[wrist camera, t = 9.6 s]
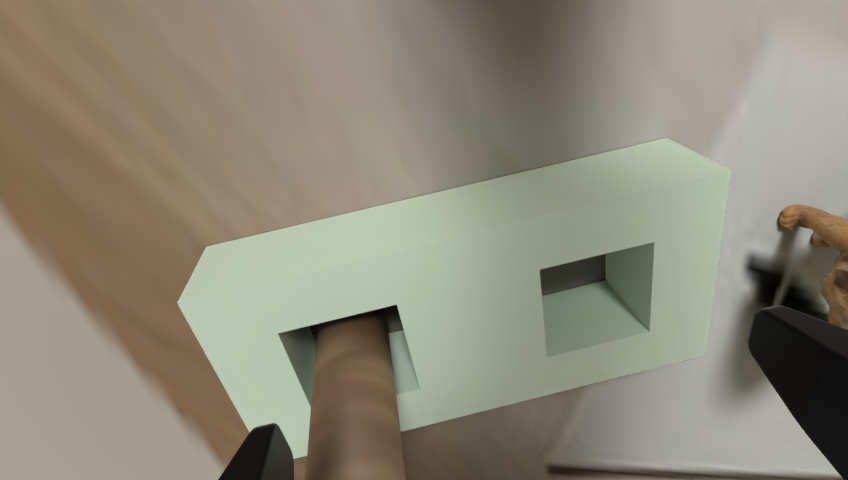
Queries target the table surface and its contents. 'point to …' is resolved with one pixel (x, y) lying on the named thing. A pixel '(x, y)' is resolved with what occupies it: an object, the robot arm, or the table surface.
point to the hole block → (475, 287)
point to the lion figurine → (844, 283)
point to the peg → (354, 403)
